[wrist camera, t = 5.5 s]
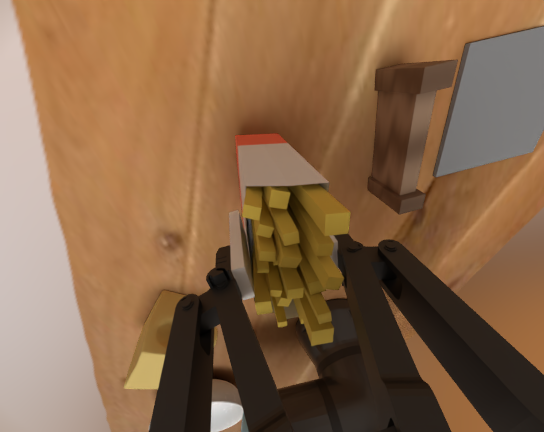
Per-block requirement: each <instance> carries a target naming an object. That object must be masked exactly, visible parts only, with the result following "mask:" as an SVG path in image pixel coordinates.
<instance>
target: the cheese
mask: <svg viewBox="0 0 544 432" xmlns="http://www.w3.org/2000/svg"><path fill="white" fill-rule="evenodd" d="M184 296H187V295H182V294H178V293H174V292H170V291H166V290H163V291H162V293H161V294H160V296H159V298H158V299H157V301H156V303H155V305H154V307H153V309H152V310H151V312H150V314H149V317H148V319H147V320H146V322H145V324H144V326H143V329H142V332H141V334H140V337H139V340H138V343H137V346H136V349H135V352H134V355H133V358H132V361H131V364H130V367H129V371H128V374H127V377H126V381H125V384H124V388H129V389H158V387H159V382H160V377H161V373H162V368H163V363H164V359H165V354H166V349H167V345H168V340H169V335H170V331H171V326H172V321H173V317H174V312H175V307H176V305H177V303H178V302H179V301H180V299H182V298H183V297H184ZM217 334H218V331H217V328H216V327H214V346H215V344H216V341H217Z"/></svg>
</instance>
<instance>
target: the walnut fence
mask: <svg viewBox="0 0 544 432" xmlns="http://www.w3.org/2000/svg"><path fill="white" fill-rule="evenodd" d="M457 62H458V60H446V61H433V62H420V63H407V64H399V65H395V66H390V67H386V68H382V69H377V70H376V78H375V90H376V91H379V93H378V105H377V118H376V130H375V143H374V156H373V168H372V177H369V178H368V191H370V192H371V193H372V194H374V195H375V196H376V197H377V198H379V199H380V200H381V201H383V202H384V203H385V204H386V205H388V206H389V207H390V208H391V209H393V210H394V211H395V212H397V213H398V214H403V213H407V212H411V211H414V210H418V209H422V207H423V203H424V199H425V195H426V194H425V193H423V192H421V191H419V190H418V189H416V187H417V182H418V177H419V172H420V167H421V163H422V158H423V153H424V148H425V143H426V139H427V134H428V129H429V124H430V120H431V115H432V110H433V105H434V100H435V96H436V91H437V90H440V89H444V88H449V87H452V83H453V79H454V74H455V70H456V66H457Z"/></svg>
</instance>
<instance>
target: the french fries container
mask: <svg viewBox="0 0 544 432" xmlns="http://www.w3.org/2000/svg"><path fill="white" fill-rule="evenodd" d="M235 140H236V156H237V167H238V177H239V188H240V199H241V208H242V217H243V226H244V230H245V233H246V236H247V243H248V250H249V257H250V264H251V271H252V278H253V285H254V292H255V297H254V301H255V306H256V311H257V315H259V314H267V313H275V316H276V320H277V324H278V327H284V326H287V319H290V318H296V317H299V319H300V322H301V324H304V325H305V328H306V331H307V334H308V337H309V340H310V343H311V345H312V346H314V345H319V344H325V343H330V342H333V334H334V327H333V325H332V323H331V321H332V318H331V311H330V309H329V307H328V306H327V304H326V302H325V300H324V298H323V296H322V294H321V292H323V291H326V289H330V290H339V288H340V286H341V284H342V282H343V280H344V277H343V276H342V274H341V272H340V271H339V269H338V268H337V266H336V265H335V263H334V262H333V260H332V259H331V257H330V256H332V252H333V247H334V242H333V241H332V239H331V238H330V236H331V235H340V234H348V232H349V222H350V213H351V212H350V211H349V210H348V209H346V208H345V207H344V206H343V205H342V204H341V203H340V202H338V201H337V200H336V199H335V198H334V197H333V196H332V195H330V194H329V193H328V189H329V182H328V181H327V180H326V179H325V178H324V177H323V176H322V175H321V174H320V173H319V172H318V171H317V170H316V169H315V168H314V167H312V166H311V165H310V164H309V163H308V162H307V161H306V160H305V159H304V158H303V157H302V156H301V155H300V154H299V153H298V152H297V151H296V150H295V149H294V148H292V147H291V146H290V145H289V144H288V143H287V142H286V141H285V140H284V139H283V138H282V137H281V136H280V135H279V134H278V133H275V134H254V135H235Z"/></svg>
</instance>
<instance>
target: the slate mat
mask: <svg viewBox="0 0 544 432" xmlns="http://www.w3.org/2000/svg"><path fill="white" fill-rule="evenodd" d="M543 130H544V26H542V27H537V28H533V29H529V30H524V31H520V32H516V33H511V34H507V35H502V36H498V37H494V38H489V39H485V40H481V41H476V42H472V43H468V44H465V48H464V52H463V56H462V60H461V64H460V68H459V72H458V76H457V80H456V84H455V88H454V92H453V96H452V100H451V104H450V108H449V112H448V116H447V120H446V125H445V129H444V133H443V137H442V141H441V145H440V149H439V153H438V157H437V161H436V165H435V169H434V173H433V176H434V177H439V176H443V175H446V174H450V173H454V172H458V171H462V170H466V169H469V168H473V167H477V166H481V165H485V164H489V163H492V162H496V161H500V160H504V159H508V158H511V157H515V156H519V155H523V154H527V153H531V152H533V150H534V148H535V146H536V144H537V142H538V140H539V138H540V136H541V134H542V132H543Z"/></svg>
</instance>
